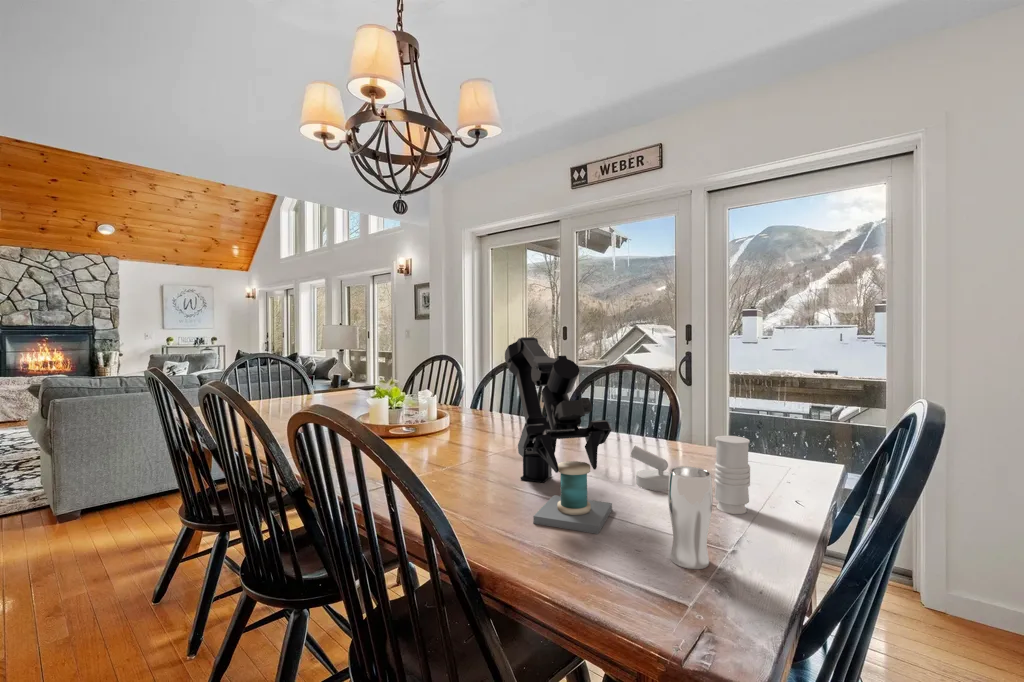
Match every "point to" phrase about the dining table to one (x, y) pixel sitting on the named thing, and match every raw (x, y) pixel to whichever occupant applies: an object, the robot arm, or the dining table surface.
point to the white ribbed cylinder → (732, 474)
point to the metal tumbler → (690, 515)
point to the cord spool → (574, 488)
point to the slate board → (574, 516)
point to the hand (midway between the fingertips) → (576, 470)
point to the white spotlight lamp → (651, 477)
